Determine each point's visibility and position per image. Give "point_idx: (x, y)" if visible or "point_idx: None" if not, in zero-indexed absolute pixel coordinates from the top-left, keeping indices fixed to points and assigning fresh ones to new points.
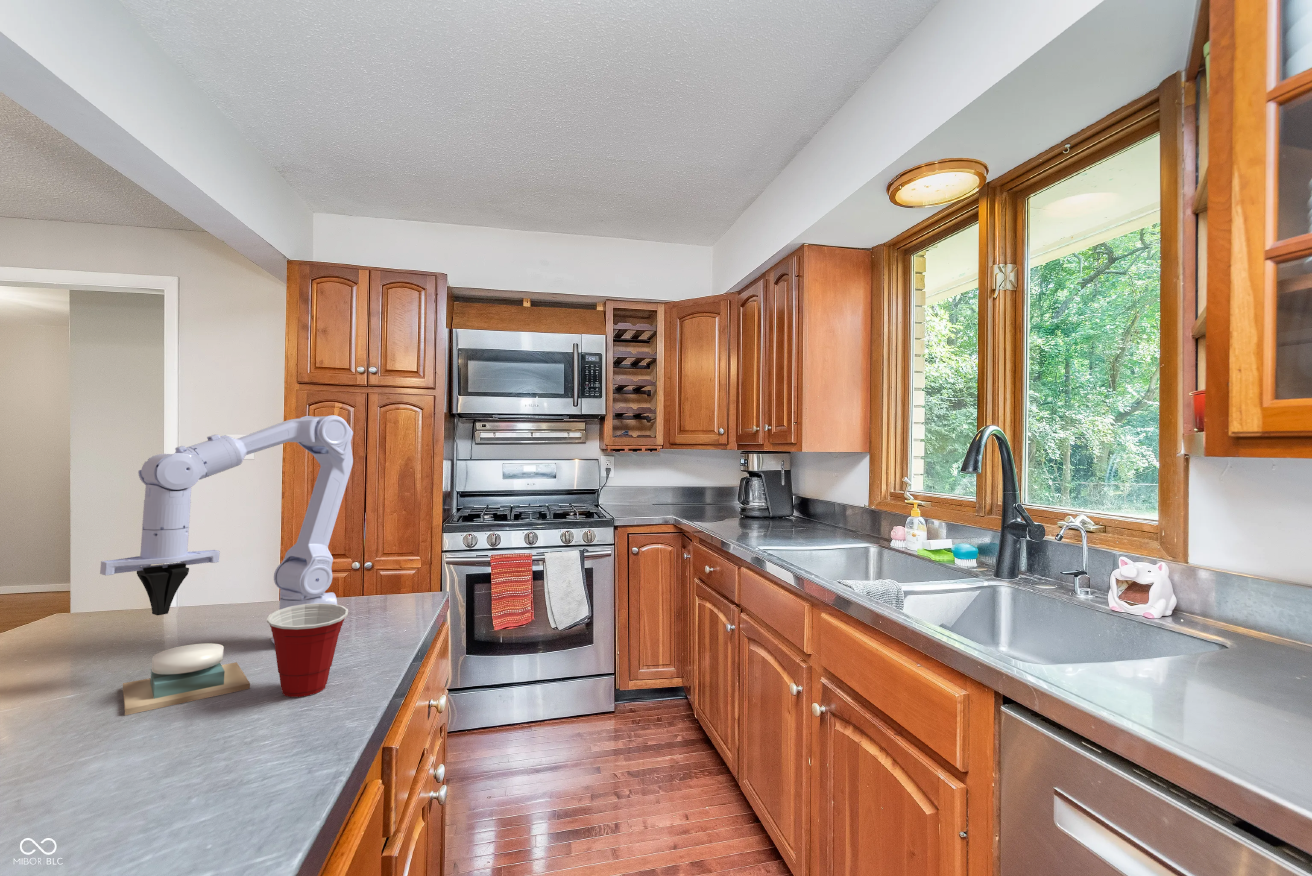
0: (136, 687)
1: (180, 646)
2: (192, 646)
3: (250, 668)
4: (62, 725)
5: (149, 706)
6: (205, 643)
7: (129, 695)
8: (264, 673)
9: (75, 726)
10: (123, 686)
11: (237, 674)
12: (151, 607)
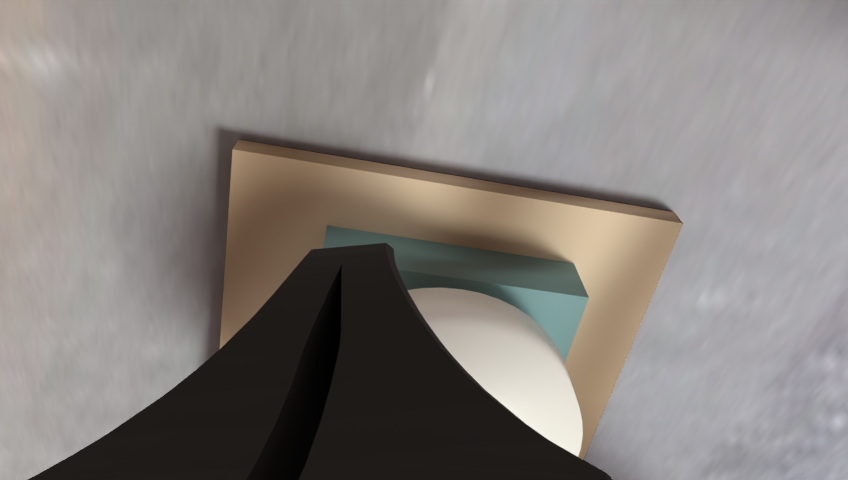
0: (271, 254)
1: (440, 326)
2: (481, 370)
3: (696, 272)
4: (54, 384)
5: None
6: (548, 361)
7: (237, 330)
8: (687, 368)
9: (90, 417)
10: (229, 202)
11: (594, 379)
12: (291, 272)
